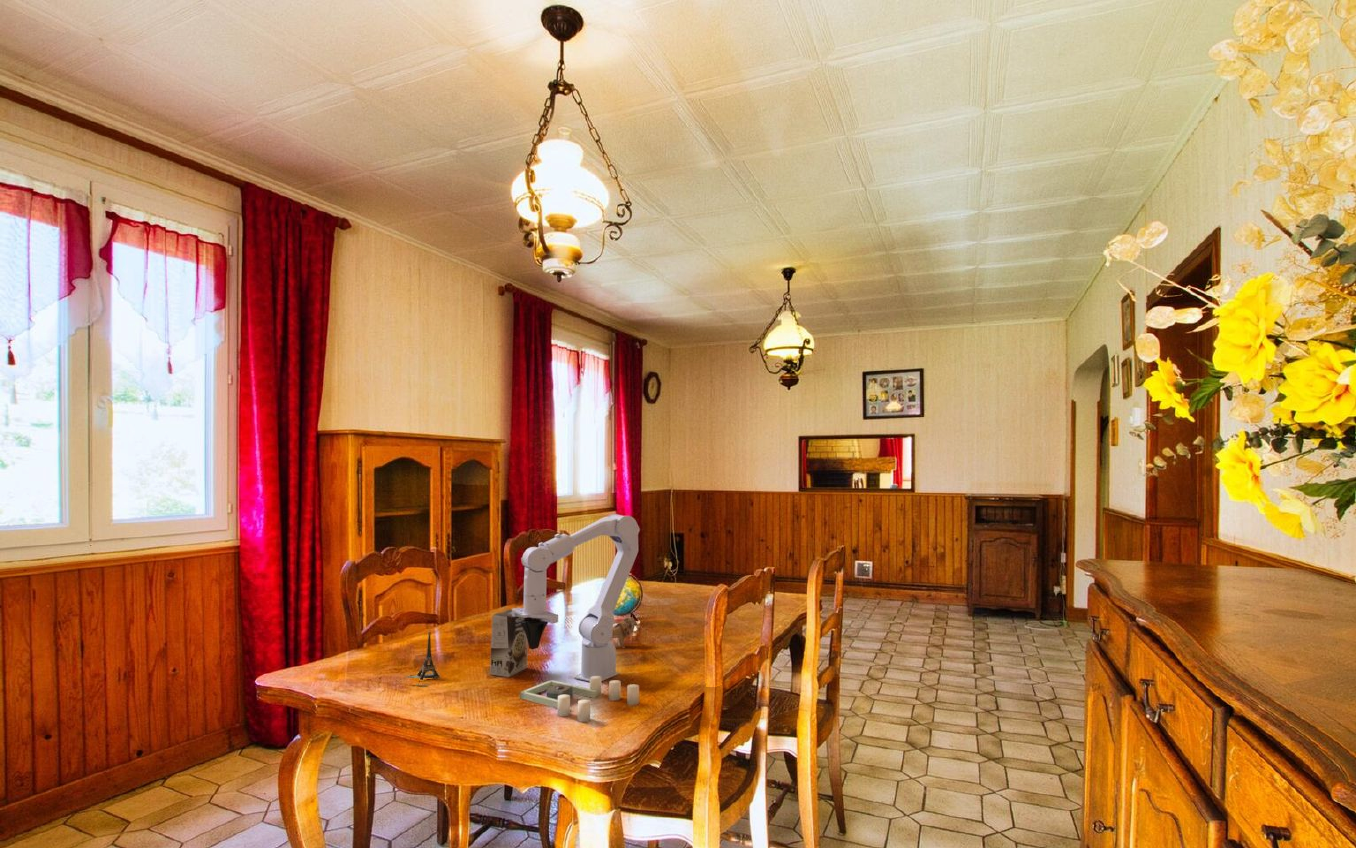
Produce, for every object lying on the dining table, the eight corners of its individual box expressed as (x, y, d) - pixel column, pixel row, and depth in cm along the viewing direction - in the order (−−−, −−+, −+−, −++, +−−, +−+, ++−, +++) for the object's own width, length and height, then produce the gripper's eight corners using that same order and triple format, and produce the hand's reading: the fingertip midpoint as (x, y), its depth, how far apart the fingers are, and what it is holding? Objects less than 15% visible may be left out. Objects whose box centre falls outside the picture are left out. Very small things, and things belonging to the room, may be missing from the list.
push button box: (557, 696, 163) (557, 683, 163) (572, 698, 161) (572, 685, 161) (546, 702, 159) (546, 688, 159) (561, 704, 157) (562, 691, 157)
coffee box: (509, 677, 176) (511, 616, 177) (489, 675, 178) (490, 614, 179) (528, 668, 184) (529, 609, 185) (508, 665, 186) (509, 608, 187)
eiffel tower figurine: (428, 668, 185) (429, 620, 186) (459, 671, 182) (461, 622, 183) (392, 685, 170) (393, 633, 171) (425, 689, 168) (427, 636, 169)
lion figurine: (632, 643, 211) (632, 615, 212) (636, 647, 206) (636, 618, 207) (587, 646, 207) (587, 617, 208) (589, 651, 202) (590, 621, 203)
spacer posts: (594, 691, 165) (595, 675, 166) (641, 702, 158) (641, 685, 158) (546, 713, 151) (547, 695, 151) (595, 726, 143) (595, 707, 143)
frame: (551, 685, 169) (551, 680, 169) (596, 697, 161) (596, 690, 162) (519, 698, 160) (520, 692, 160) (566, 711, 152) (566, 704, 152)
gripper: (503, 593, 170) (502, 647, 169) (544, 600, 162) (543, 656, 161) (523, 589, 176) (522, 641, 175) (564, 595, 168) (563, 649, 167)
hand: (533, 648), depth 169 cm, fingers closed
